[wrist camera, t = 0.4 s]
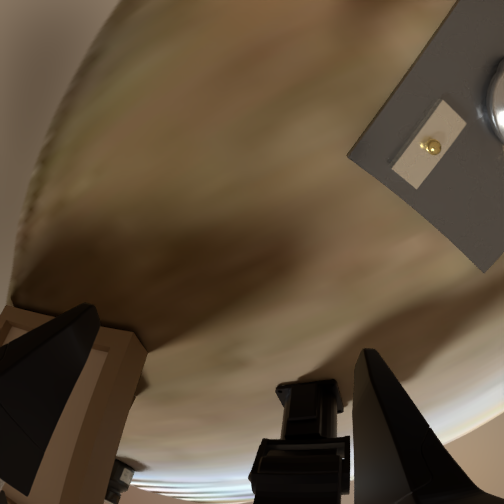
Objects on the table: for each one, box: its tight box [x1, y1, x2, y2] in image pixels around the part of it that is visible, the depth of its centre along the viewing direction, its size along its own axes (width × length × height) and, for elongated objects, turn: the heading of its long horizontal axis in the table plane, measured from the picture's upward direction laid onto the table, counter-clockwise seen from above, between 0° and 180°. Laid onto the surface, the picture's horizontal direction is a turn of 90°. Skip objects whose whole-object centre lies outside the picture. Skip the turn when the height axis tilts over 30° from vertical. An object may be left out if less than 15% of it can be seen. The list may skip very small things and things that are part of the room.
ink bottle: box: [104, 460, 134, 504], centre depth 58 cm, size 10×9×12 cm
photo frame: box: [0, 305, 148, 504], centre depth 25 cm, size 15×22×25 cm
